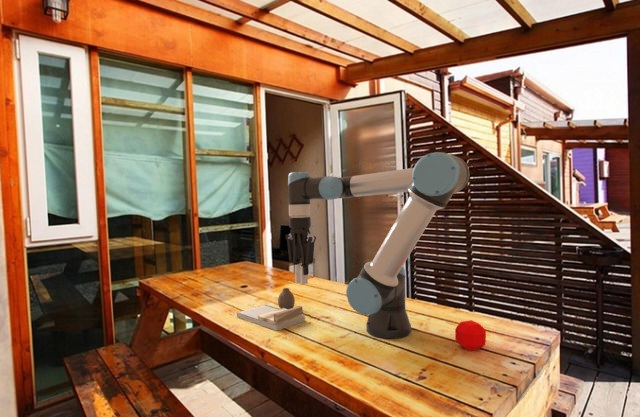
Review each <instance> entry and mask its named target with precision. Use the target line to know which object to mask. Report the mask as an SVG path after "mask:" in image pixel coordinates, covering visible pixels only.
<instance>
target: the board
mask: <svg viewBox="0 0 640 417" xmlns="http://www.w3.org/2000/svg"><path fill="white" fill-rule="evenodd" d="M278 309H280V307H275V306H272V305H268V304H262V305H260V306H257V307H253V308H250V309H249V308H248V309H246V310H243V311H238V312H236V317H237V318H239V319H241V320H244V321H248V322H250V323H253V324H255V325H259V326H261V327H264V328H267V329H270V330H274V331H276V332H277V331H279V330H282V329H286V328H288V327H292V326H294V325H297V324H299V323H302V322H305V321H306V316H304V315H303V317H300V318H297V319H294V320H291V321H288V322H285V323H282V324H279V325H274V324H271V323H268V322H265V321H262V320H260V319H258V315H262V314H265V313H268V312H272V311H275V310H278Z"/></svg>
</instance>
